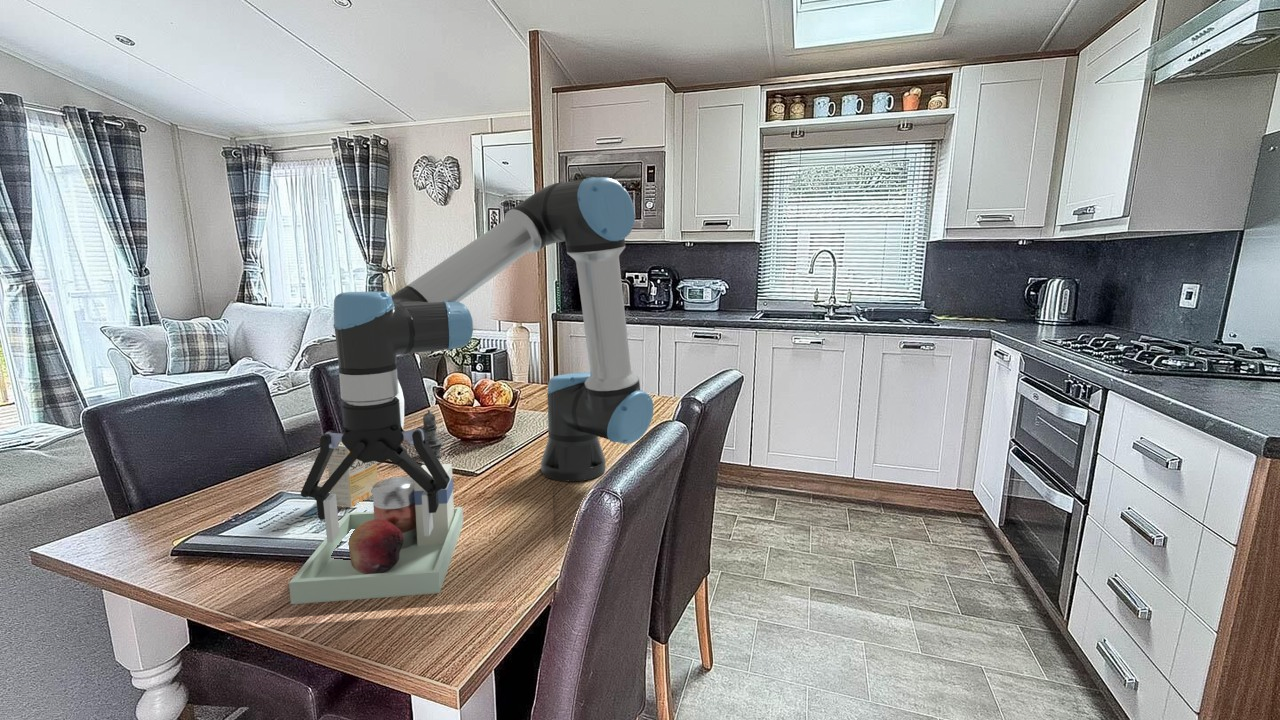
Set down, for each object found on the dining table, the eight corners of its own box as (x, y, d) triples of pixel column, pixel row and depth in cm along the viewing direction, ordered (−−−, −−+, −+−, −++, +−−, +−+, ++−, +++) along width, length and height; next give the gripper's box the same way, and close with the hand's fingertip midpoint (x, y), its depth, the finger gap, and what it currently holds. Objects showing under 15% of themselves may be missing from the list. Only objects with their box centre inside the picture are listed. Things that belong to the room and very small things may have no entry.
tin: (425, 529, 98) (422, 475, 96) (416, 549, 91) (412, 491, 89) (383, 531, 96) (379, 477, 95) (370, 551, 90) (366, 493, 88)
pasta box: (454, 527, 98) (452, 463, 96) (448, 544, 92) (446, 476, 91) (425, 529, 98) (421, 464, 96) (417, 546, 92) (413, 477, 90)
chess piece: (431, 450, 142) (429, 405, 140) (448, 454, 139) (446, 408, 137) (413, 457, 137) (410, 410, 135) (430, 461, 134) (428, 413, 132)
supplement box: (351, 512, 106) (347, 447, 104) (330, 509, 107) (325, 445, 104) (380, 495, 114) (376, 434, 112) (359, 493, 115) (355, 432, 112)
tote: (463, 527, 100) (462, 506, 100) (440, 597, 79) (438, 572, 78) (348, 534, 97) (346, 512, 96) (291, 609, 76) (288, 582, 75)
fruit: (372, 556, 88) (369, 509, 87) (415, 561, 87) (413, 513, 86) (337, 582, 81) (333, 531, 79) (384, 588, 79) (380, 537, 78)
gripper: (464, 390, 85) (470, 518, 89) (289, 395, 81) (303, 529, 85) (456, 402, 78) (463, 541, 82) (263, 408, 74) (280, 554, 78)
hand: (381, 535), depth 83 cm, fingers open, 13 cm apart
